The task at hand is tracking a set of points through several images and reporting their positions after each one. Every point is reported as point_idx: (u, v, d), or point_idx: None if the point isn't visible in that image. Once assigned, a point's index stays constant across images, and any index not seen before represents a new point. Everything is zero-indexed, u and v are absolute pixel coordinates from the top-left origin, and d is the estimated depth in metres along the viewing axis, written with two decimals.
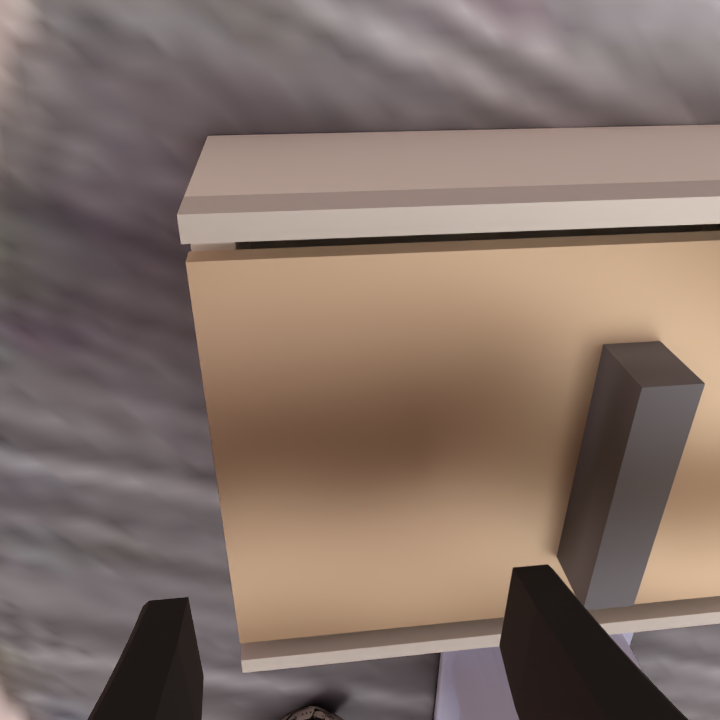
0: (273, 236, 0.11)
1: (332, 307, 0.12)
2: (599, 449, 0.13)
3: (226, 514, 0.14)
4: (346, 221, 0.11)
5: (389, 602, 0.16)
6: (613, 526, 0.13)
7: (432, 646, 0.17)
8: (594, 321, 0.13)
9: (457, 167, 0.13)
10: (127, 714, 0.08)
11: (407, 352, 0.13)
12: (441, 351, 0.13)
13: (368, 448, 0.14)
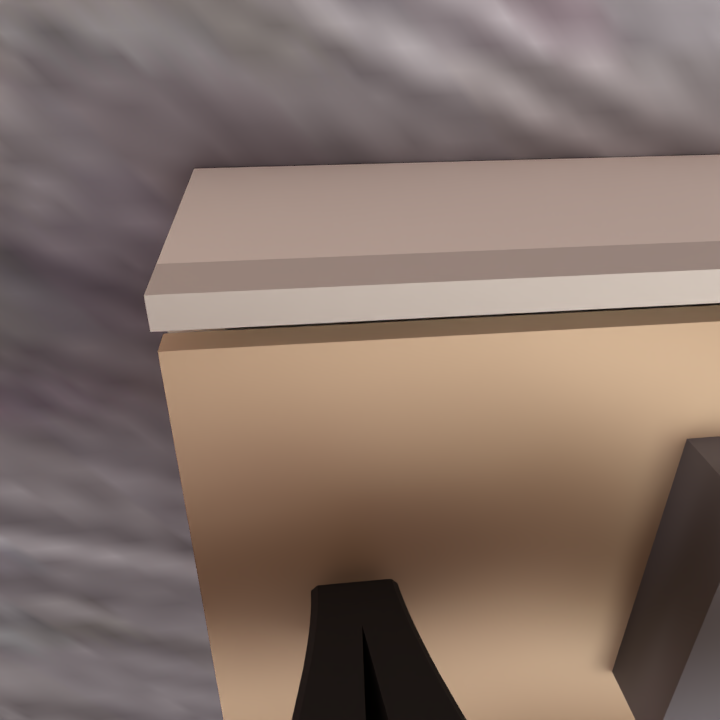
0: (272, 321, 0.08)
1: (348, 402, 0.09)
2: (678, 566, 0.11)
3: (214, 638, 0.12)
4: (369, 300, 0.08)
5: None
6: (696, 661, 0.11)
7: None
8: (678, 412, 0.10)
9: (503, 216, 0.10)
10: (336, 691, 0.08)
11: (442, 453, 0.10)
12: (485, 451, 0.10)
13: (390, 562, 0.11)
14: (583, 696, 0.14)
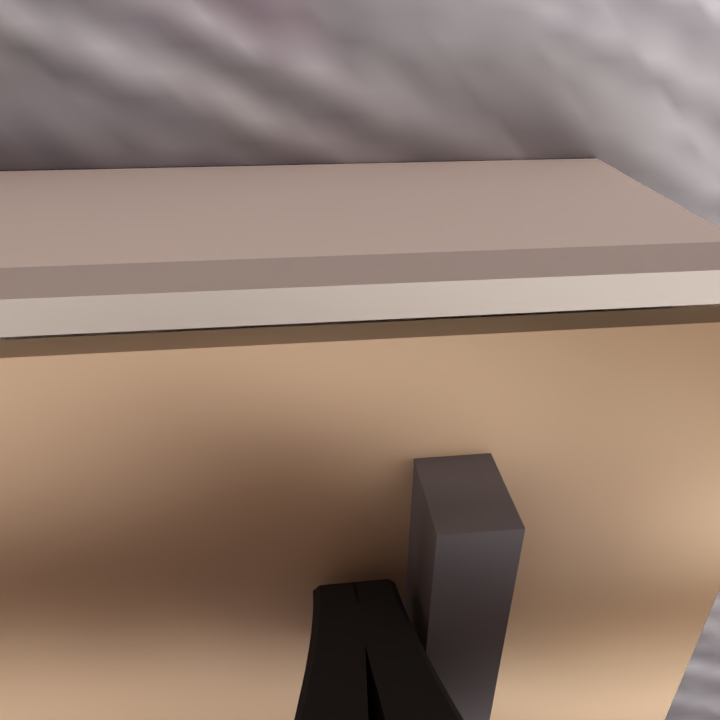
0: None
1: (24, 421, 0.09)
2: (416, 590, 0.10)
3: None
4: None
5: None
6: None
7: None
8: (396, 431, 0.10)
9: (145, 227, 0.10)
10: (339, 691, 0.08)
11: (145, 473, 0.10)
12: (192, 471, 0.10)
13: (121, 585, 0.11)
14: None
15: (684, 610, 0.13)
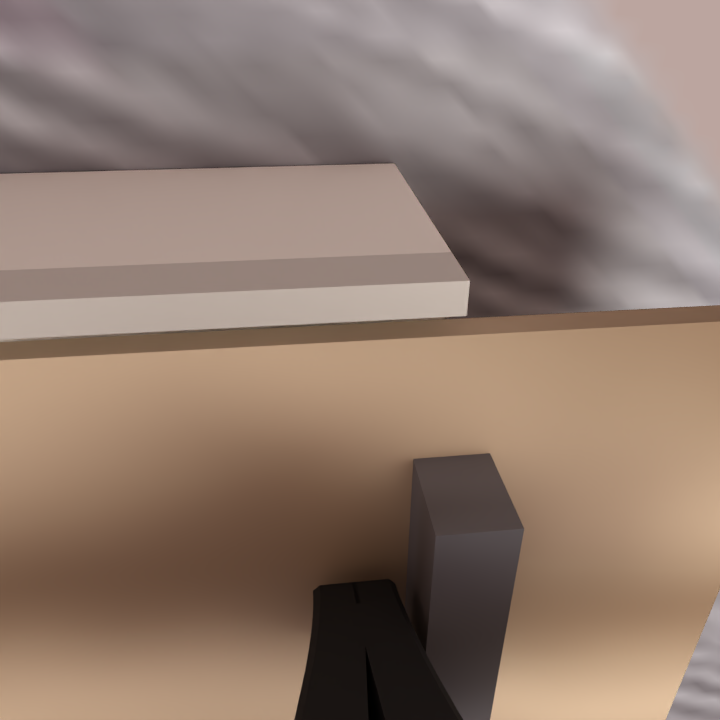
0: None
1: (23, 423, 0.09)
2: (416, 590, 0.10)
3: None
4: None
5: None
6: None
7: None
8: (395, 431, 0.10)
9: None
10: (339, 691, 0.08)
11: (145, 474, 0.10)
12: (192, 472, 0.10)
13: (121, 586, 0.11)
14: None
15: (684, 609, 0.13)
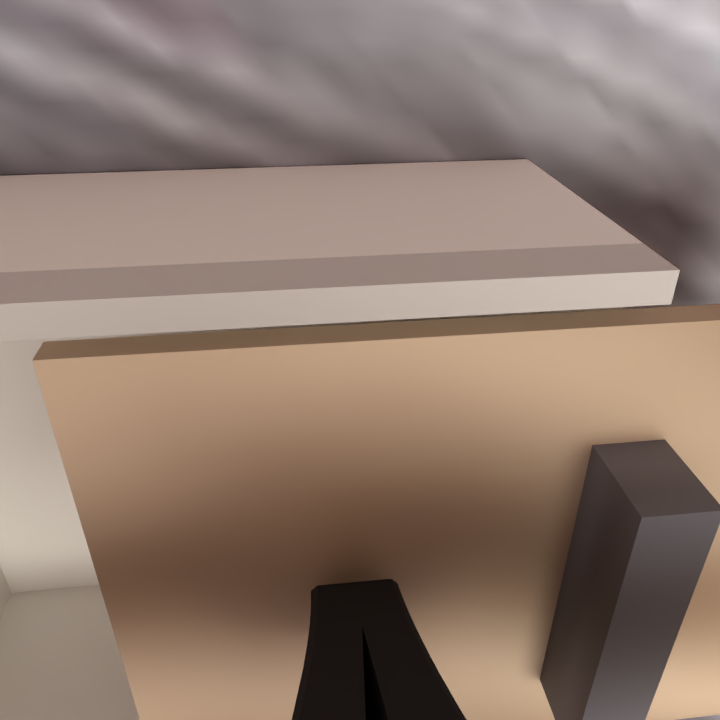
0: None
1: (236, 410, 0.09)
2: (588, 573, 0.11)
3: (124, 648, 0.11)
4: None
5: None
6: (607, 671, 0.11)
7: None
8: (580, 418, 0.10)
9: (41, 234, 0.10)
10: (336, 691, 0.08)
11: (340, 460, 0.10)
12: (384, 458, 0.10)
13: (298, 570, 0.11)
14: (512, 704, 0.14)
15: None
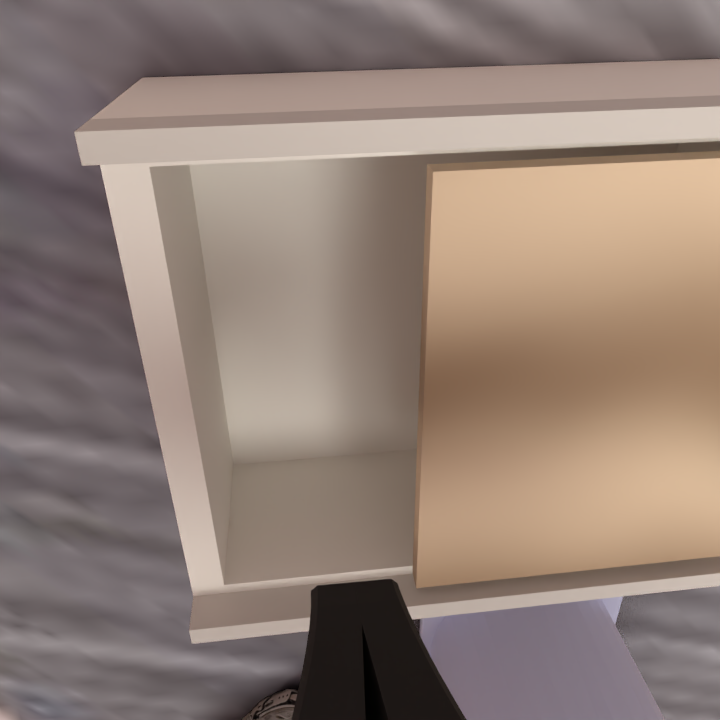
0: (182, 157, 0.10)
1: (568, 221, 0.12)
2: None
3: (426, 447, 0.14)
4: (260, 138, 0.10)
5: (569, 544, 0.16)
6: None
7: None
8: None
9: (393, 93, 0.12)
10: (336, 691, 0.08)
11: (633, 270, 0.12)
12: (667, 269, 0.12)
13: (577, 376, 0.13)
14: (714, 520, 0.16)
15: None
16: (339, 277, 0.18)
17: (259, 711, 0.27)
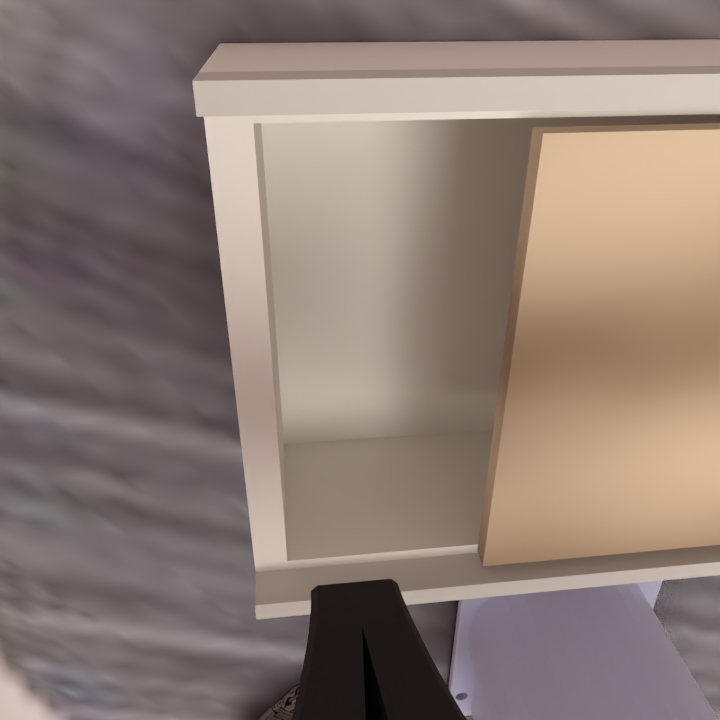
0: (297, 110, 0.10)
1: (671, 188, 0.12)
2: None
3: (507, 420, 0.14)
4: (377, 93, 0.10)
5: (638, 523, 0.16)
6: None
7: (457, 592, 0.16)
8: None
9: (491, 58, 0.12)
10: (336, 691, 0.08)
11: None
12: None
13: (664, 349, 0.13)
14: None
15: None
16: (403, 253, 0.17)
17: (291, 697, 0.27)
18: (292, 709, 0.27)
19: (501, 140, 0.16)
